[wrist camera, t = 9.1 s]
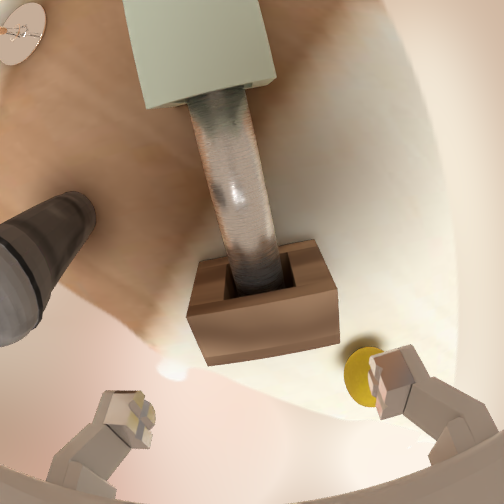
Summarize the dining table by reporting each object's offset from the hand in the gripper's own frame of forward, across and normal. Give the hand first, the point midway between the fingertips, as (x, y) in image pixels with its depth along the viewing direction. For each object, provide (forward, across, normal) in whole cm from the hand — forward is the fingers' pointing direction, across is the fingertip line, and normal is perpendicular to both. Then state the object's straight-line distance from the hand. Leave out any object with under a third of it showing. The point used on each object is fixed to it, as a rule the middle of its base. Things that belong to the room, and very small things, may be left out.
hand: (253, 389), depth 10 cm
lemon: (+17, -9, +18) cm, 27 cm away
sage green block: (+17, 0, -14) cm, 22 cm away
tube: (+15, 0, -2) cm, 15 cm away
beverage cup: (+17, +15, -4) cm, 23 cm away
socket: (+17, 0, +6) cm, 18 cm away
